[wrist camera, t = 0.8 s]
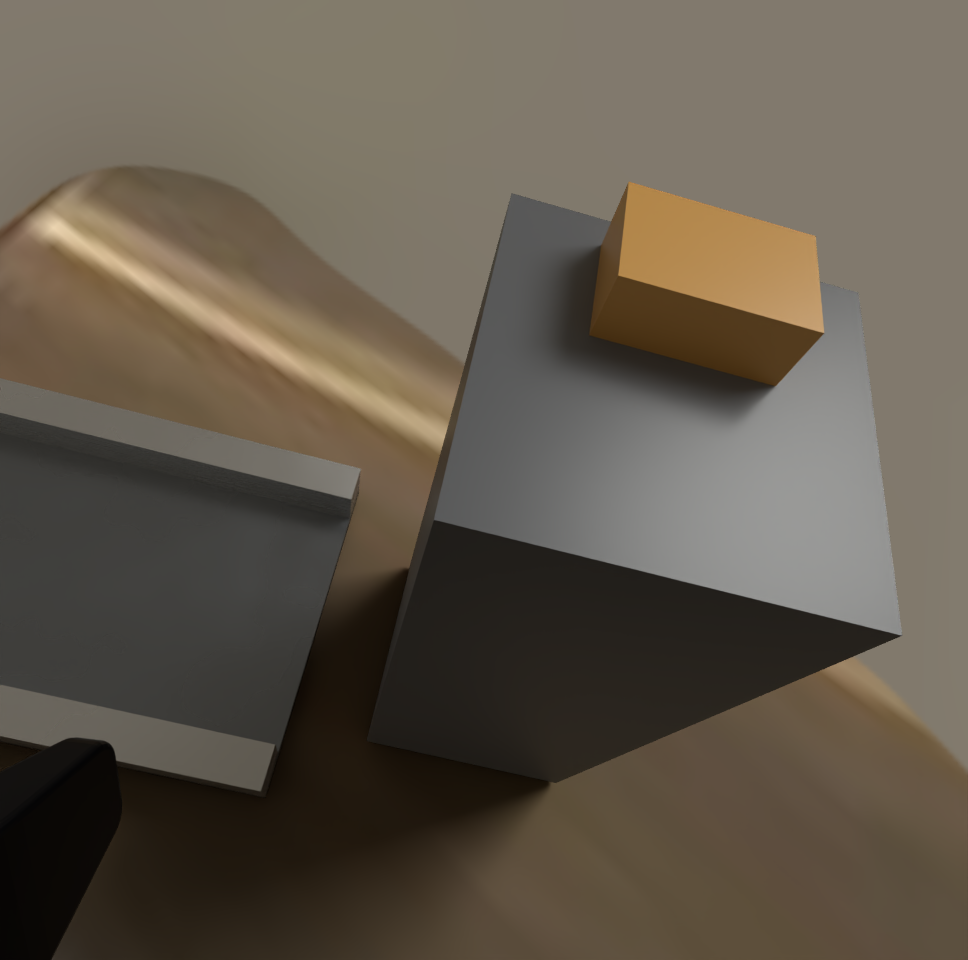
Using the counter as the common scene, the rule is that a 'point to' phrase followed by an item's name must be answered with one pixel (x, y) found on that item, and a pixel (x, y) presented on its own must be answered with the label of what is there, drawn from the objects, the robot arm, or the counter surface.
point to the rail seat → (159, 585)
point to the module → (640, 492)
